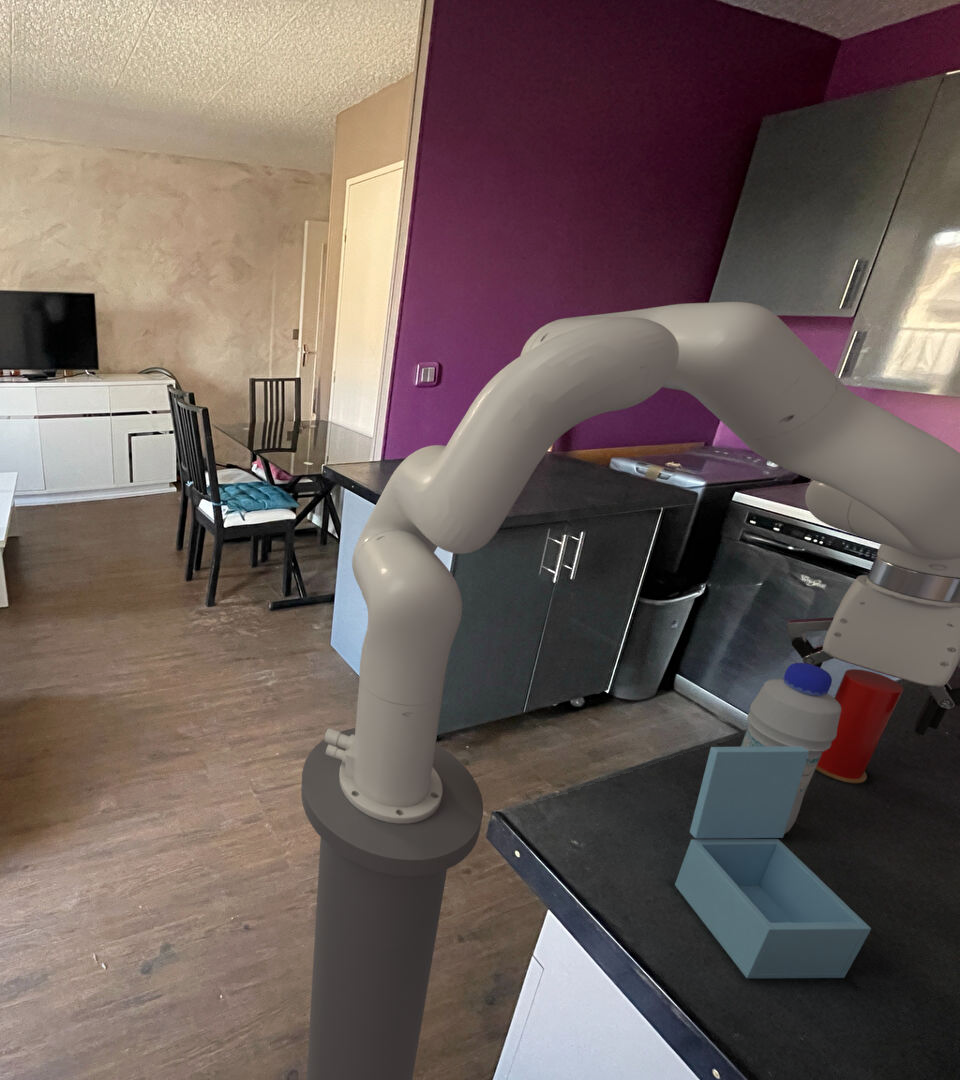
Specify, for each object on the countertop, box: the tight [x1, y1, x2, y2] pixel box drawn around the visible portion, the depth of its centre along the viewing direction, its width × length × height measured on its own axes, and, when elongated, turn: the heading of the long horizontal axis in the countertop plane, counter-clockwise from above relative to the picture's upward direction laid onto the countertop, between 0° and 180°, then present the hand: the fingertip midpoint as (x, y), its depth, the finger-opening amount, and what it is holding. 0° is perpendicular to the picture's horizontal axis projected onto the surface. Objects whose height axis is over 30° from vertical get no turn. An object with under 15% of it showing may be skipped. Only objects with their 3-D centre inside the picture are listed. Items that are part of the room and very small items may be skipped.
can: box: [817, 668, 904, 779], centre depth 70 cm, size 5×5×12 cm
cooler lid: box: [689, 746, 809, 839], centre depth 54 cm, size 10×8×1 cm
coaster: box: [815, 766, 868, 784], centre depth 73 cm, size 6×6×1 cm
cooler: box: [674, 838, 872, 979], centre depth 53 cm, size 9×8×6 cm
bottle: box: [740, 662, 841, 835], centre depth 62 cm, size 7×7×20 cm
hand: (860, 709), depth 70 cm, fingers open, 9 cm apart
